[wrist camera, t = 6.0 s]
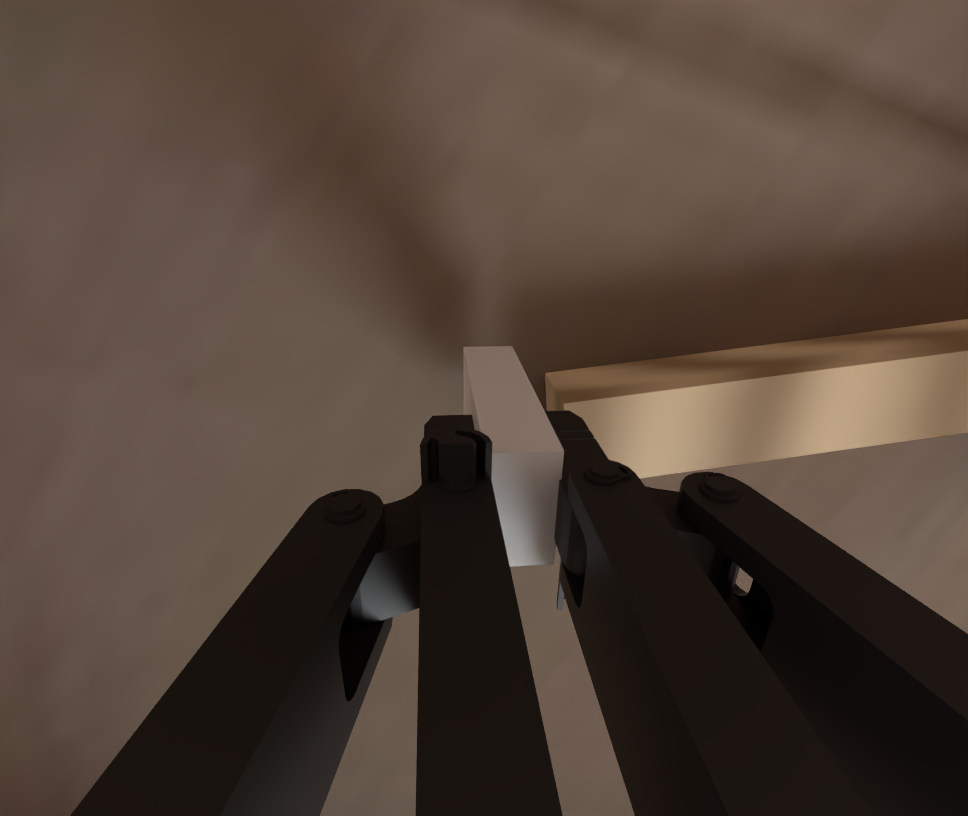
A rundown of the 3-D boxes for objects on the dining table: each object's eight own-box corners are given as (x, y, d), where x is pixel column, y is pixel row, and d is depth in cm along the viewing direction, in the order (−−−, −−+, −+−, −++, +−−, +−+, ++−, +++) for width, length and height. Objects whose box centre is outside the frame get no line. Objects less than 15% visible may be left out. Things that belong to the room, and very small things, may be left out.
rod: (546, 444, 19) (566, 488, 16) (542, 369, 18) (563, 403, 15) (1161, 361, 20) (1275, 389, 18) (1198, 285, 19) (1327, 303, 16)
